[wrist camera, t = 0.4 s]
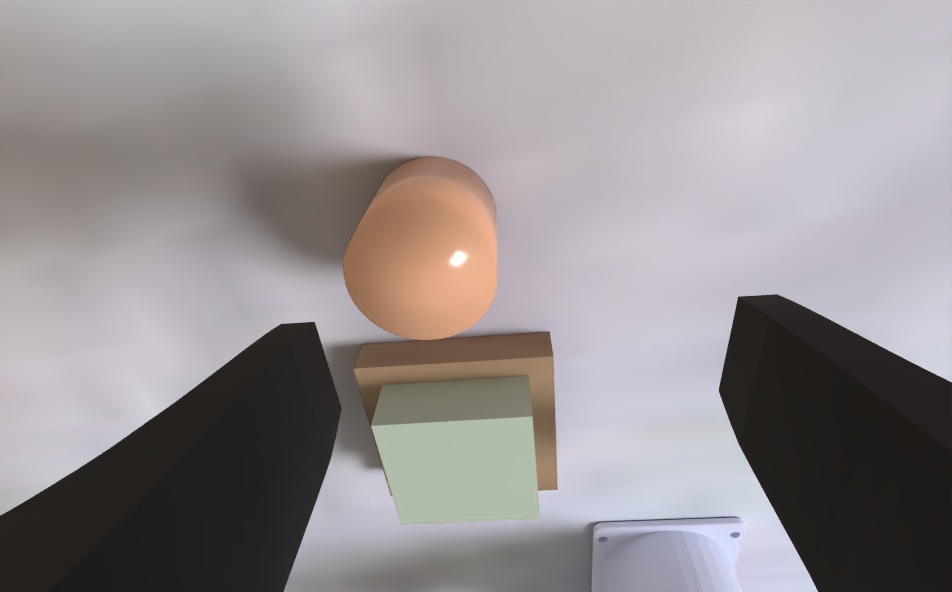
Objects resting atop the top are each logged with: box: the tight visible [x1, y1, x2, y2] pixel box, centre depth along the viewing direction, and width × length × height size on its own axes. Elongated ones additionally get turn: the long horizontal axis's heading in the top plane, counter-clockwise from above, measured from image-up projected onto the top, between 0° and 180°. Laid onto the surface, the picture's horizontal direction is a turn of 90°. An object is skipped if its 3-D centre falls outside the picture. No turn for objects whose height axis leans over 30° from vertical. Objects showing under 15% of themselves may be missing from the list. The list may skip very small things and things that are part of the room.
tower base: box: [353, 332, 557, 496], centre depth 23 cm, size 8×8×2 cm
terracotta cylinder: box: [343, 157, 497, 340], centre depth 17 cm, size 4×4×4 cm
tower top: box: [371, 376, 540, 525], centre depth 21 cm, size 6×6×2 cm
